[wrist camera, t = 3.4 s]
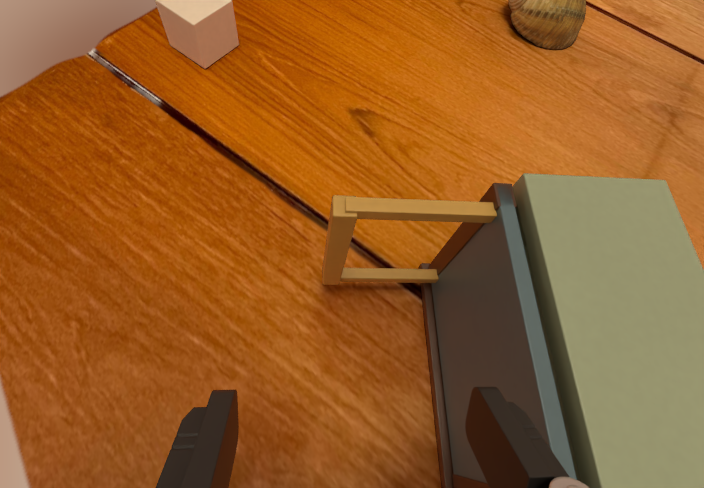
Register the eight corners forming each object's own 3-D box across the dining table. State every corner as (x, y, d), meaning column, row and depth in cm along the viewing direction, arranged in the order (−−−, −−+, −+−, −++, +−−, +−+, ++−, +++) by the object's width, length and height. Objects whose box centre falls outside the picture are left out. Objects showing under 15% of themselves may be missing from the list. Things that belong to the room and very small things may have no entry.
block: (205, 69, 38) (193, 25, 34) (169, 45, 39) (154, -2, 34) (239, 45, 40) (232, -1, 35) (204, 22, 40) (194, -25, 36)
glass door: (320, 507, 23) (337, 568, 13) (321, 264, 30) (333, 175, 19) (470, 499, 24) (596, 550, 14) (440, 266, 31) (511, 183, 20)
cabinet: (443, 505, 25) (569, 571, 13) (418, 266, 32) (487, 170, 20) (589, 497, 26) (823, 551, 14) (535, 268, 33) (666, 179, 21)
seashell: (549, 57, 51) (580, -15, 47) (586, 60, 44) (625, -23, 41) (482, 34, 48) (509, -44, 45) (511, 33, 42) (546, -57, 39)
